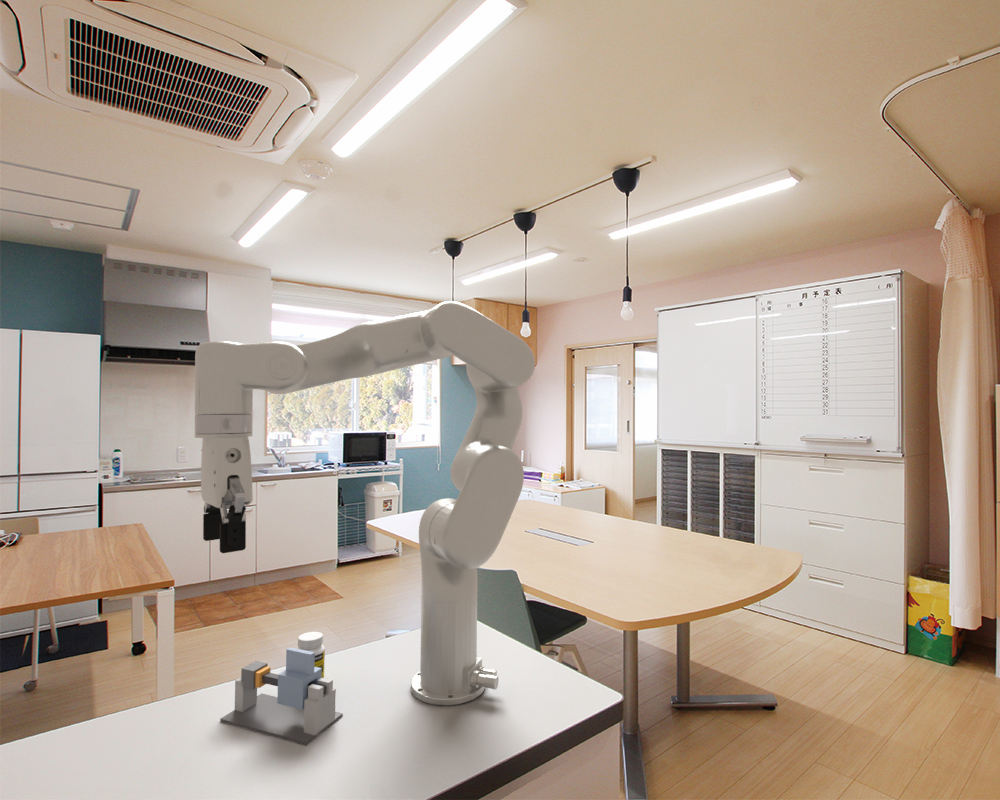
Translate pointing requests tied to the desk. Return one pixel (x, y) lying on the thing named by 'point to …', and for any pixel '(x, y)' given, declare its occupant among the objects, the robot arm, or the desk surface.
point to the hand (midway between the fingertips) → (223, 545)
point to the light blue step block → (297, 677)
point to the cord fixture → (281, 707)
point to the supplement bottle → (313, 647)
